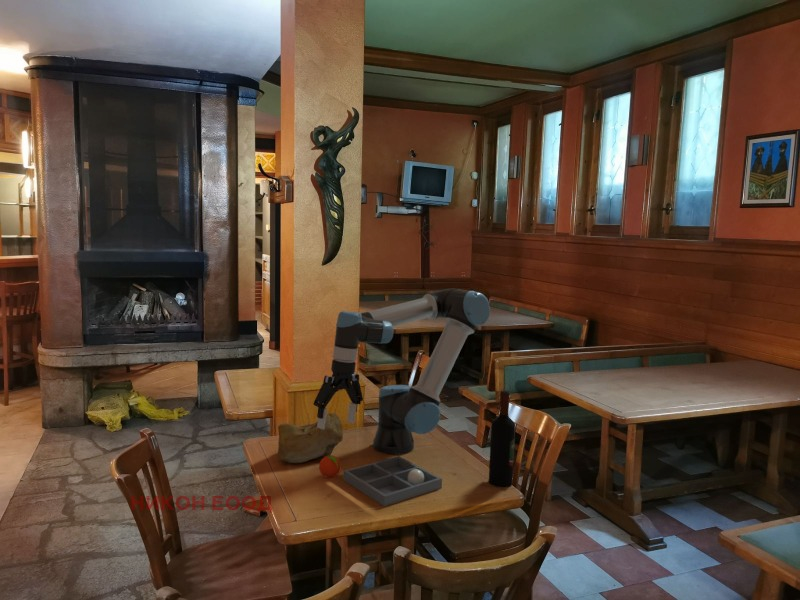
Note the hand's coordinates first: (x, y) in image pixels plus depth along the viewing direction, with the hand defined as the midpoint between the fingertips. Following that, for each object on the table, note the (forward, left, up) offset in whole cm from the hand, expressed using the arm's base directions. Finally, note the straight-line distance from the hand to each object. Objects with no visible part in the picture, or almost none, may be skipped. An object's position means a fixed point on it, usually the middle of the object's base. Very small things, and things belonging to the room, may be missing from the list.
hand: (336, 425), depth 191 cm
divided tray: (-11, +16, -17) cm, 26 cm away
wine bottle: (-42, +33, -17) cm, 56 cm away
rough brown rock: (-2, -22, -18) cm, 28 cm away
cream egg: (-16, +21, -16) cm, 31 cm away
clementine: (+1, -1, -17) cm, 18 cm away
